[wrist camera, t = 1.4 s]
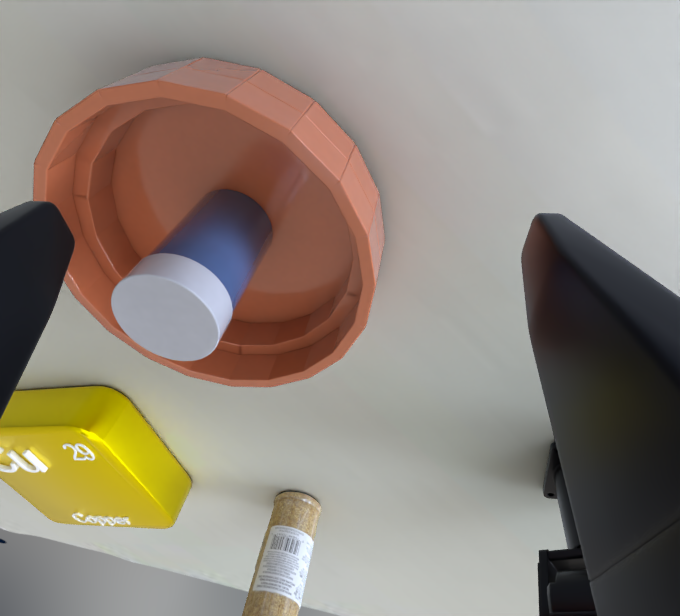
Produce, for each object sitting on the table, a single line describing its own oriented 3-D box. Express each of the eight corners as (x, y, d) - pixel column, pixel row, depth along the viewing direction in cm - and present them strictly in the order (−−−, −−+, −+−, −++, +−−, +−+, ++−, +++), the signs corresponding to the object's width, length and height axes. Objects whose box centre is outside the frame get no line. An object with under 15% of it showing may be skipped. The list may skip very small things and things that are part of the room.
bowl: (397, 334, 28) (391, 389, 24) (163, 336, 32) (129, 384, 28) (360, 29, 18) (341, 49, 15) (31, 85, 22) (-45, 112, 19)
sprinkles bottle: (270, 504, 44) (217, 675, 34) (283, 483, 41) (230, 664, 31) (313, 520, 45) (274, 694, 34) (330, 501, 42) (293, 685, 31)
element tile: (80, 485, 49) (50, 530, 45) (-19, 391, 40) (-65, 435, 37) (200, 488, 45) (179, 537, 41) (118, 382, 36) (81, 432, 32)
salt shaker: (283, 260, 26) (233, 362, 19) (209, 264, 27) (139, 361, 21) (262, 182, 23) (195, 272, 17) (180, 190, 24) (89, 277, 18)
